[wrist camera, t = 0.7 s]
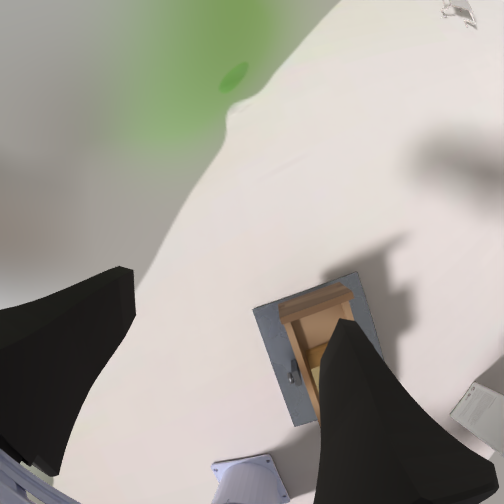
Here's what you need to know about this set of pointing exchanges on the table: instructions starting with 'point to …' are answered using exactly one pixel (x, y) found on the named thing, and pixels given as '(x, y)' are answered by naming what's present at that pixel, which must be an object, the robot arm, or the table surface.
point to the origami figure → (460, 2)
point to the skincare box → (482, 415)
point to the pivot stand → (285, 356)
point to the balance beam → (314, 326)
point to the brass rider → (315, 360)
